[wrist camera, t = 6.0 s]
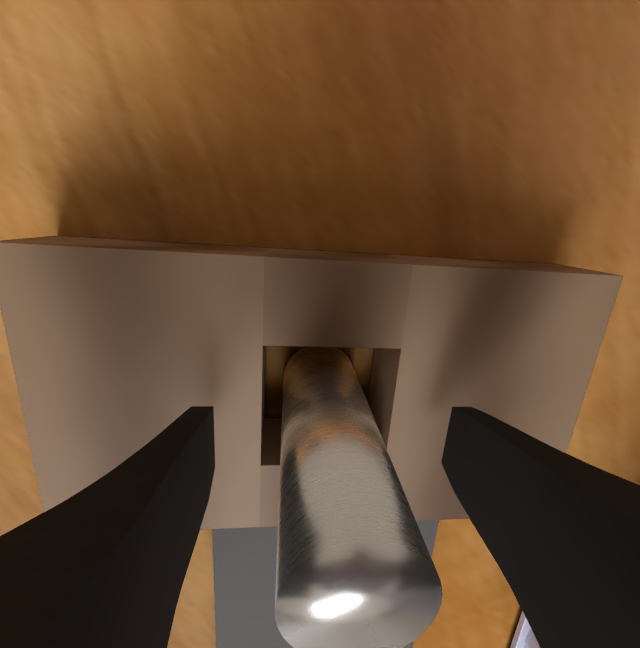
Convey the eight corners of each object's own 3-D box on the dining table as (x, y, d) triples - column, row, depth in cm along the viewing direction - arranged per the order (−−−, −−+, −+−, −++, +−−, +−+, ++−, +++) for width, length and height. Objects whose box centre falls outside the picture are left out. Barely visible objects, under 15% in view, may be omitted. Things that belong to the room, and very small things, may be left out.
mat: (436, 507, 18) (439, 514, 17) (406, 654, 21) (409, 662, 20) (213, 516, 16) (212, 523, 16) (218, 671, 19) (217, 680, 19)
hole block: (555, 264, 14) (623, 276, 11) (502, 465, 17) (545, 515, 14) (56, 235, 12) (-14, 241, 9) (92, 474, 15) (48, 535, 12)
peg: (356, 344, 14) (455, 540, 6) (351, 408, 15) (428, 657, 7) (284, 342, 14) (276, 546, 6) (282, 407, 15) (273, 667, 6)
